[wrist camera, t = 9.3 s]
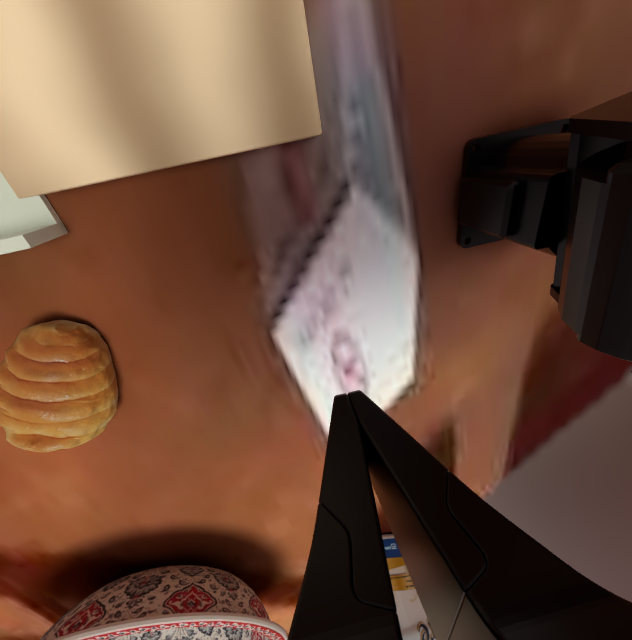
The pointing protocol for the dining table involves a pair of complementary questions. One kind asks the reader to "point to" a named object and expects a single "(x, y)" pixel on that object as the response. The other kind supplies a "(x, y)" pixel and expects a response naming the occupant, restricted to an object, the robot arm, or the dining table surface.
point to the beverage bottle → (406, 595)
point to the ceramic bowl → (170, 609)
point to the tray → (26, 220)
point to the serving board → (147, 86)
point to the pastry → (56, 387)
